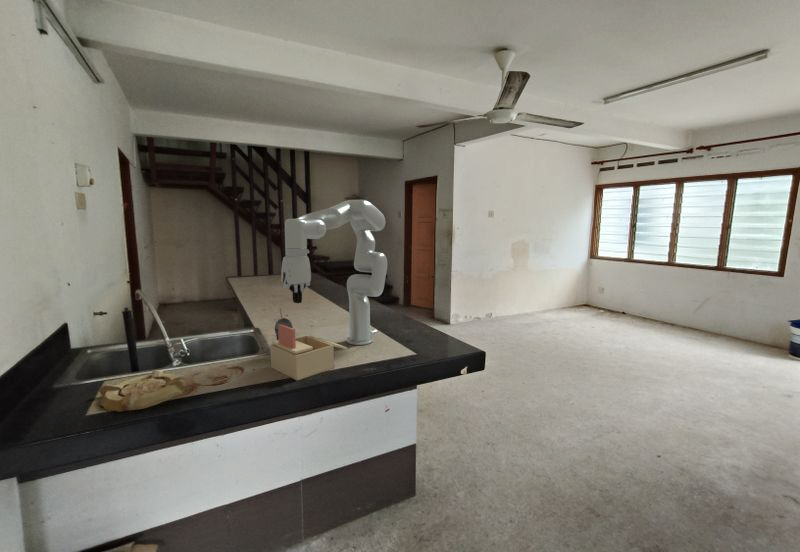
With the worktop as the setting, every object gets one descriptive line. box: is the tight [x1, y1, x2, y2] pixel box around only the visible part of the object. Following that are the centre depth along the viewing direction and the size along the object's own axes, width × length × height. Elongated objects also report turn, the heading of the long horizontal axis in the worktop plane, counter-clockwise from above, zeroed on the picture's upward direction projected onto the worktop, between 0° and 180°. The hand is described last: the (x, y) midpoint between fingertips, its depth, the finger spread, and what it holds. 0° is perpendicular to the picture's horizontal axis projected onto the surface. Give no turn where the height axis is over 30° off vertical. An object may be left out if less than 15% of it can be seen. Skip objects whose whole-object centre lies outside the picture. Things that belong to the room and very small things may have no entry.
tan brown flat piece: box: [98, 369, 188, 412], centre depth 121 cm, size 24×24×5 cm
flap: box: [271, 324, 313, 354], centre depth 138 cm, size 7×17×8 cm, turn 47°
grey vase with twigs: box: [274, 307, 294, 340], centre depth 156 cm, size 7×7×20 cm
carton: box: [269, 335, 335, 381], centre depth 143 cm, size 16×18×9 cm
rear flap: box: [308, 335, 348, 350], centre depth 151 cm, size 7×17×1 cm, turn 47°
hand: (297, 302), depth 139 cm, fingers closed
